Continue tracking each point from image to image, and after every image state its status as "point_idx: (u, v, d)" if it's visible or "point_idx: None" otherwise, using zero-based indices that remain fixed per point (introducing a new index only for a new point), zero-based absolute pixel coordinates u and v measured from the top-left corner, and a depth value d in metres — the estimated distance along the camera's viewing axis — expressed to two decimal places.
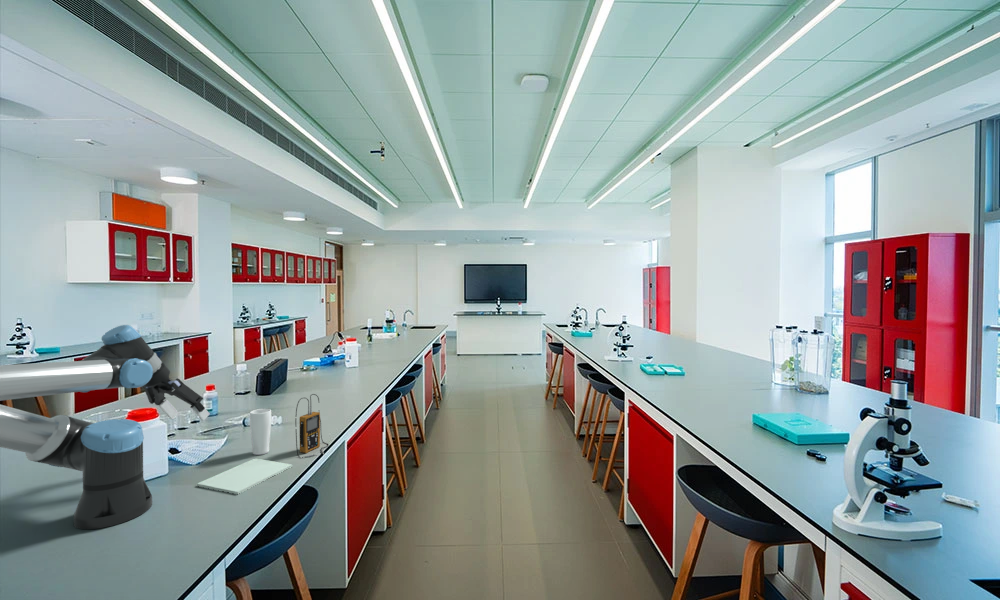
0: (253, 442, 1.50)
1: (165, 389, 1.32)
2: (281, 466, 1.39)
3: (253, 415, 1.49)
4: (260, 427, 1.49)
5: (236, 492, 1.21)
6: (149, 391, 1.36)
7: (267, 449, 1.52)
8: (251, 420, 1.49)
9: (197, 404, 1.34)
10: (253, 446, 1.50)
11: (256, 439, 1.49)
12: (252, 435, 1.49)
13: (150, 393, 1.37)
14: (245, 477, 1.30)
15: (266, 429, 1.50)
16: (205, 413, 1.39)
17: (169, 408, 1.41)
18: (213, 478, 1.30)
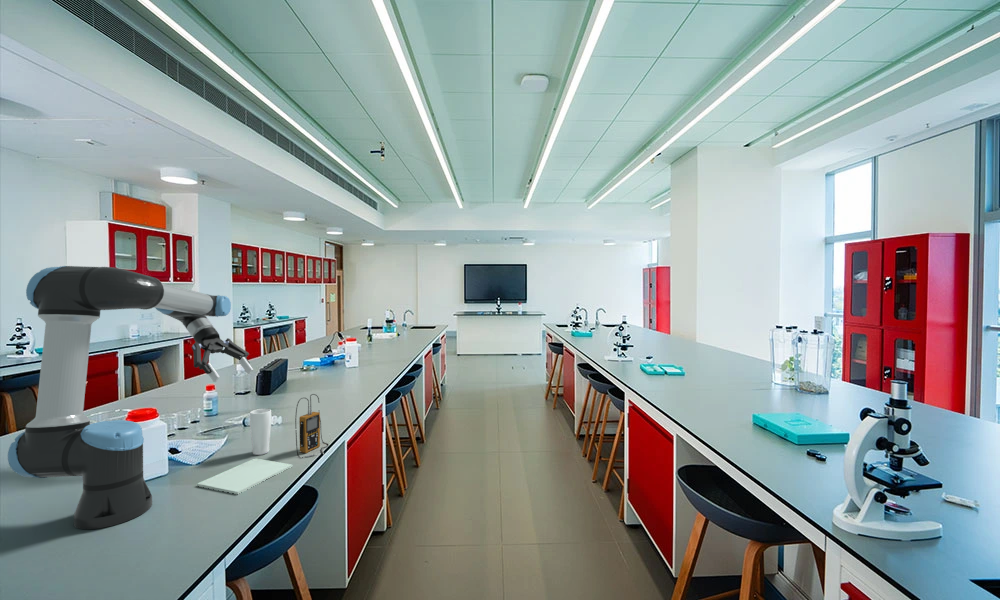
0: (253, 442, 1.50)
1: None
2: (281, 466, 1.39)
3: (253, 415, 1.49)
4: (260, 427, 1.49)
5: (236, 492, 1.21)
6: None
7: (267, 449, 1.52)
8: (251, 420, 1.49)
9: (248, 354, 1.66)
10: (253, 446, 1.50)
11: (256, 439, 1.49)
12: (252, 435, 1.49)
13: None
14: (245, 477, 1.30)
15: (266, 429, 1.50)
16: None
17: None
18: (213, 478, 1.30)
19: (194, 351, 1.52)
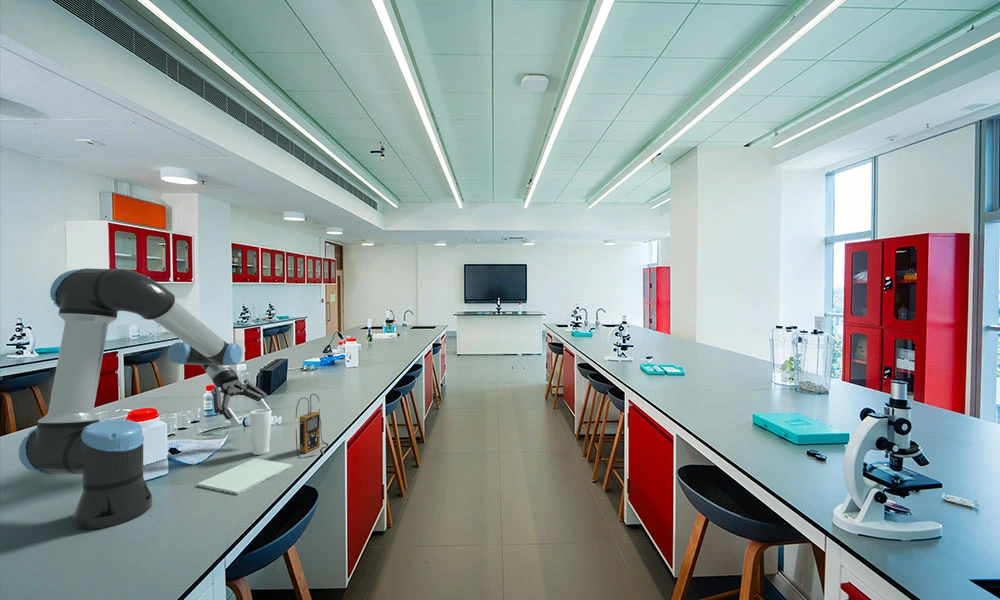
0: (253, 442, 1.50)
1: None
2: (281, 466, 1.39)
3: (253, 415, 1.49)
4: (260, 427, 1.49)
5: (236, 492, 1.21)
6: None
7: (267, 449, 1.52)
8: (251, 420, 1.49)
9: (266, 395, 1.65)
10: (253, 446, 1.50)
11: (256, 439, 1.49)
12: (252, 435, 1.49)
13: None
14: (245, 477, 1.30)
15: (266, 429, 1.50)
16: None
17: None
18: (213, 478, 1.30)
19: (214, 396, 1.50)
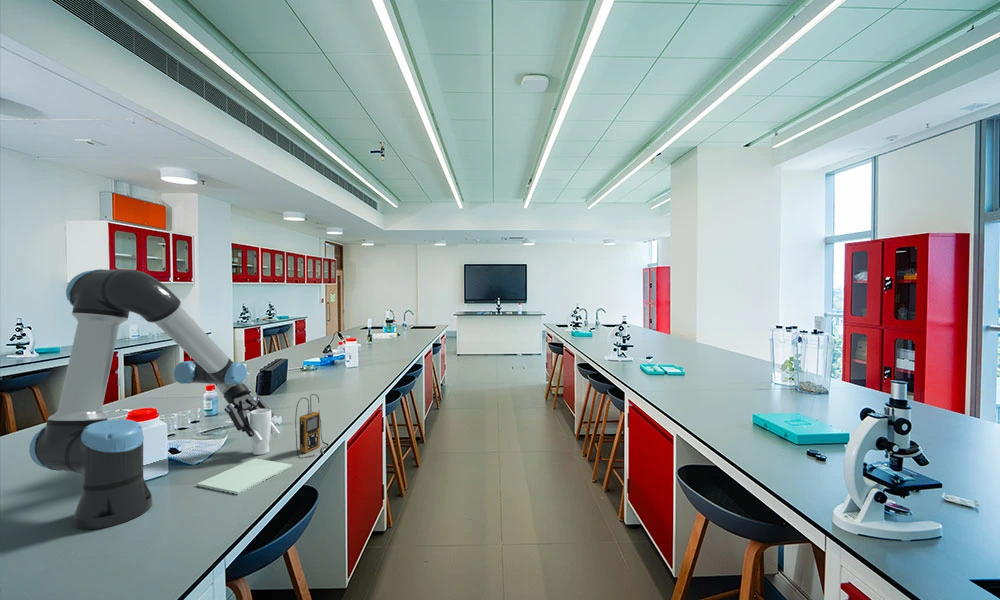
0: (253, 442, 1.50)
1: None
2: (281, 466, 1.39)
3: (253, 415, 1.49)
4: (260, 427, 1.49)
5: (236, 492, 1.21)
6: None
7: (267, 449, 1.52)
8: (251, 420, 1.49)
9: None
10: (253, 446, 1.50)
11: None
12: None
13: None
14: (245, 477, 1.30)
15: (266, 429, 1.50)
16: None
17: None
18: (213, 478, 1.30)
19: (230, 413, 1.48)
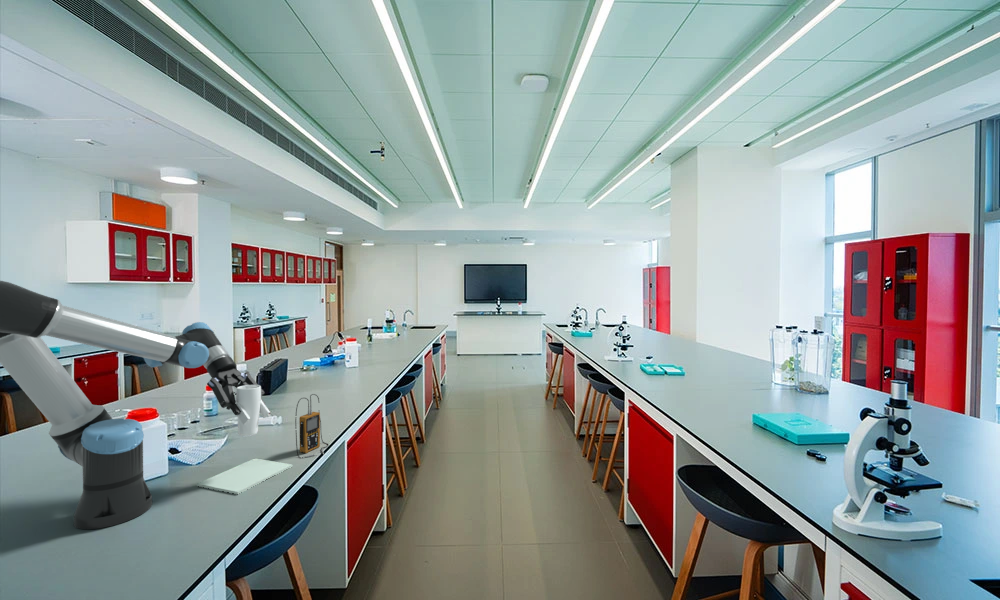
0: (239, 422, 1.32)
1: None
2: (281, 466, 1.39)
3: (240, 391, 1.31)
4: (248, 404, 1.31)
5: (236, 492, 1.21)
6: None
7: (255, 430, 1.34)
8: (238, 396, 1.31)
9: None
10: (239, 426, 1.32)
11: None
12: None
13: None
14: (245, 477, 1.30)
15: (254, 406, 1.33)
16: None
17: None
18: (213, 478, 1.30)
19: (213, 388, 1.30)
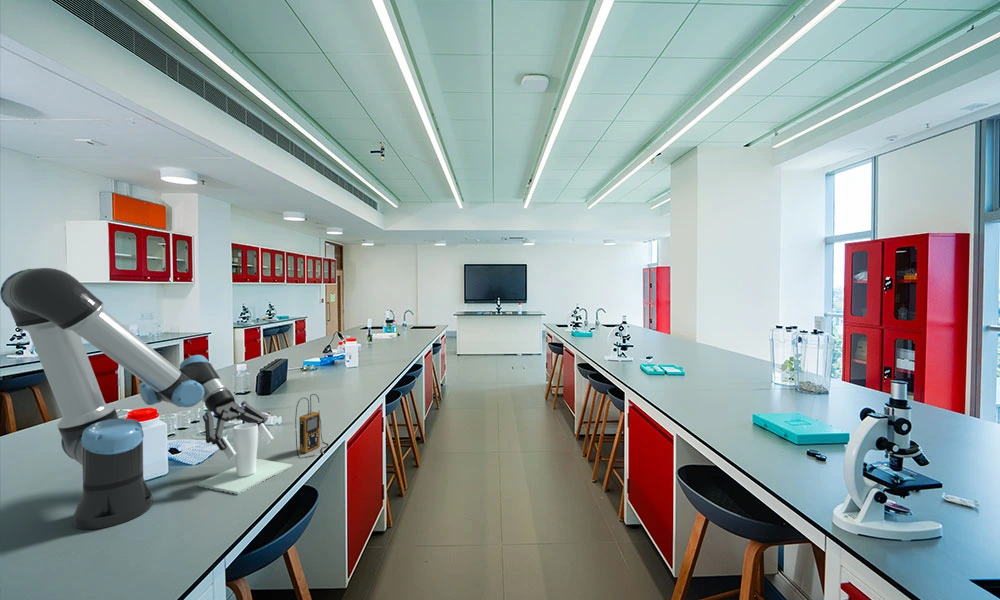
0: (237, 462, 1.30)
1: None
2: (281, 466, 1.39)
3: (237, 431, 1.30)
4: (245, 444, 1.30)
5: (236, 492, 1.21)
6: None
7: (253, 469, 1.33)
8: (234, 437, 1.30)
9: None
10: (237, 466, 1.31)
11: (240, 458, 1.30)
12: (236, 454, 1.30)
13: None
14: (245, 477, 1.30)
15: (252, 446, 1.31)
16: None
17: None
18: (213, 478, 1.30)
19: (206, 422, 1.28)
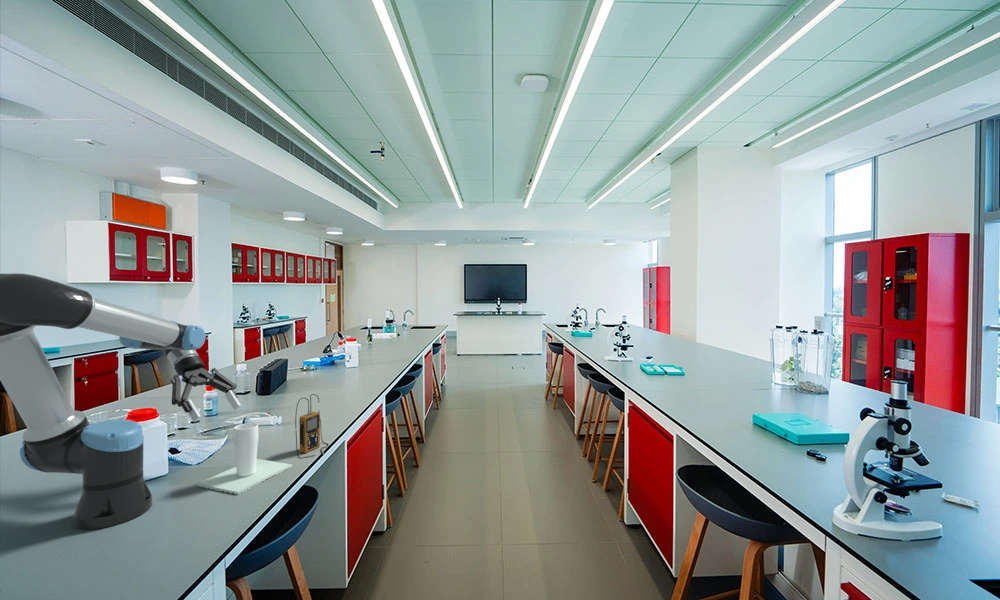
0: (237, 462, 1.30)
1: None
2: (281, 466, 1.39)
3: (237, 431, 1.30)
4: (245, 445, 1.30)
5: (236, 492, 1.21)
6: None
7: (253, 470, 1.33)
8: (235, 437, 1.30)
9: (236, 386, 1.47)
10: (237, 466, 1.31)
11: (240, 458, 1.30)
12: (236, 454, 1.30)
13: None
14: (245, 477, 1.30)
15: (252, 446, 1.31)
16: None
17: None
18: (213, 478, 1.30)
19: (173, 385, 1.32)
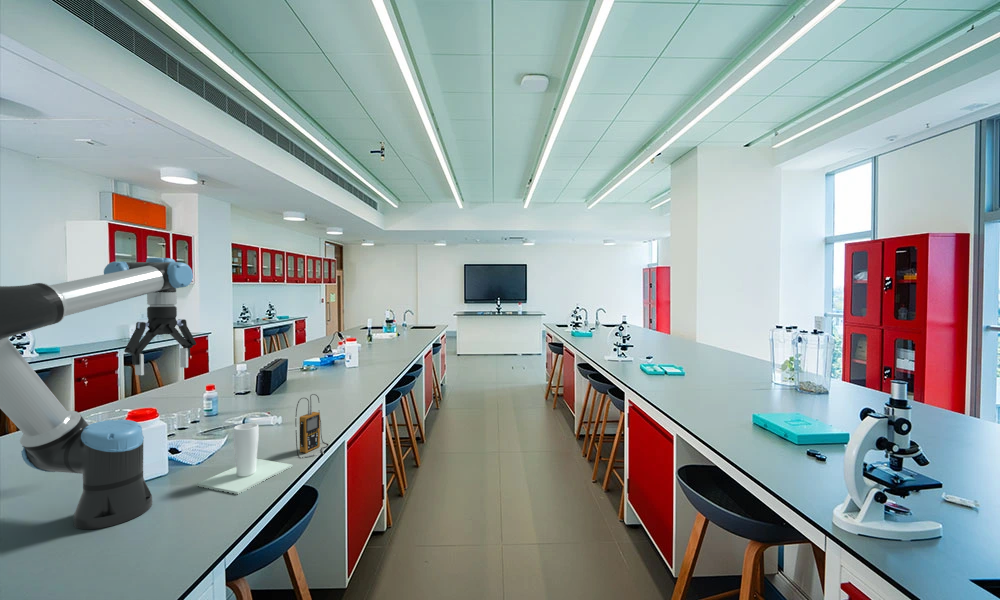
0: (237, 462, 1.30)
1: None
2: (281, 466, 1.39)
3: (237, 431, 1.29)
4: (245, 445, 1.30)
5: (236, 492, 1.21)
6: None
7: (253, 470, 1.33)
8: (235, 437, 1.30)
9: (195, 344, 1.47)
10: (237, 467, 1.31)
11: (240, 458, 1.30)
12: (236, 454, 1.30)
13: None
14: (245, 477, 1.30)
15: (252, 446, 1.31)
16: None
17: None
18: (213, 478, 1.30)
19: (136, 330, 1.31)
